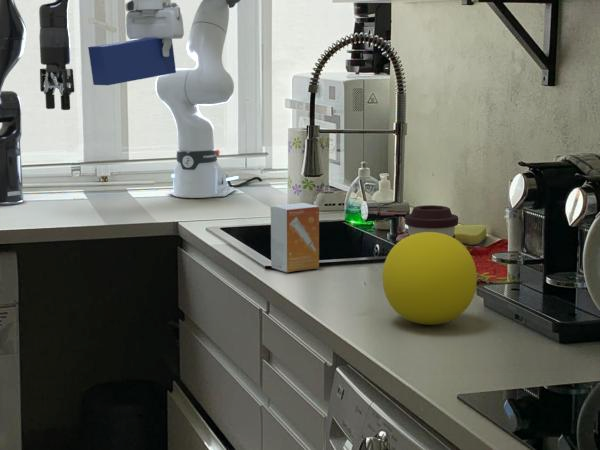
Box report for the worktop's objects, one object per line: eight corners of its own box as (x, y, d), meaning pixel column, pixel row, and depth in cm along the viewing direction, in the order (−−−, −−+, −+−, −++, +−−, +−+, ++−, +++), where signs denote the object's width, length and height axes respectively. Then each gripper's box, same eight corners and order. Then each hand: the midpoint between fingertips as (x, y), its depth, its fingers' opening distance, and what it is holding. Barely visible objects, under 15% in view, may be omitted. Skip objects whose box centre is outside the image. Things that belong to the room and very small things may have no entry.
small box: (287, 273, 210) (286, 209, 208) (270, 268, 216) (269, 205, 213) (320, 268, 215) (319, 205, 213) (303, 263, 220) (302, 202, 218)
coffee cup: (400, 280, 202) (400, 204, 200) (450, 279, 203) (451, 203, 201) (409, 292, 193) (410, 212, 190) (462, 291, 193) (463, 211, 191)
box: (107, 85, 265) (102, 46, 262) (93, 85, 269) (88, 47, 267) (176, 72, 280) (171, 36, 278) (161, 72, 284) (157, 36, 282)
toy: (446, 307, 181) (447, 222, 179) (492, 329, 167) (494, 237, 165) (367, 316, 176) (367, 228, 174) (408, 339, 162) (408, 244, 160)
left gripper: (81, 45, 264) (84, 109, 267) (55, 45, 275) (58, 107, 277) (54, 45, 259) (57, 111, 262) (29, 46, 270) (32, 109, 273)
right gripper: (188, 2, 271) (190, 56, 274) (140, 5, 285) (141, 56, 288) (169, 2, 267) (171, 56, 269) (121, 4, 281) (123, 56, 283)
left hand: (58, 109), depth 270 cm, fingers open, 8 cm apart
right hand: (155, 56), depth 279 cm, fingers closed on box, 6 cm apart
